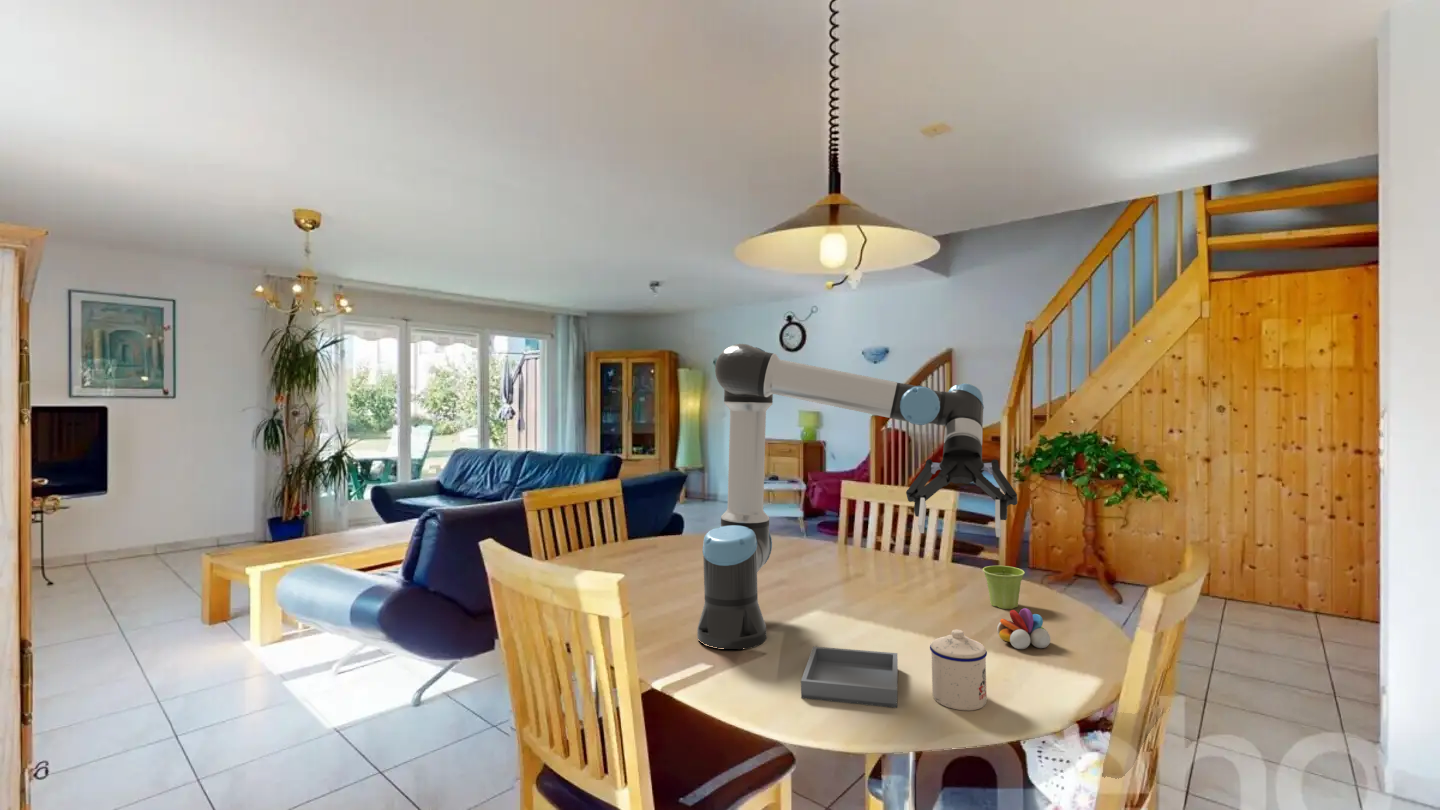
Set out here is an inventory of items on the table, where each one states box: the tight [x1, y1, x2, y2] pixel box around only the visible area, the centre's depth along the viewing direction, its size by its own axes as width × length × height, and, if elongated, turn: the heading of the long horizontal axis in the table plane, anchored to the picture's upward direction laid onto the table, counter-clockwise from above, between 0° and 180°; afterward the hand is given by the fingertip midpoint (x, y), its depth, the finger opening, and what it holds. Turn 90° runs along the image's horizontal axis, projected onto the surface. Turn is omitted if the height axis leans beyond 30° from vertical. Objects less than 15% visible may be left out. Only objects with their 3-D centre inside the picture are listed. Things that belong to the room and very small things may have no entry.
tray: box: [800, 646, 899, 709], centre depth 116 cm, size 16×16×3 cm
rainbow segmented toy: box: [996, 607, 1051, 650], centre depth 133 cm, size 8×10×7 cm
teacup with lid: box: [929, 629, 988, 711], centre depth 110 cm, size 12×9×12 cm
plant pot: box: [982, 565, 1026, 610], centre depth 157 cm, size 9×9×9 cm
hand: (958, 531), depth 120 cm, fingers open, 13 cm apart
